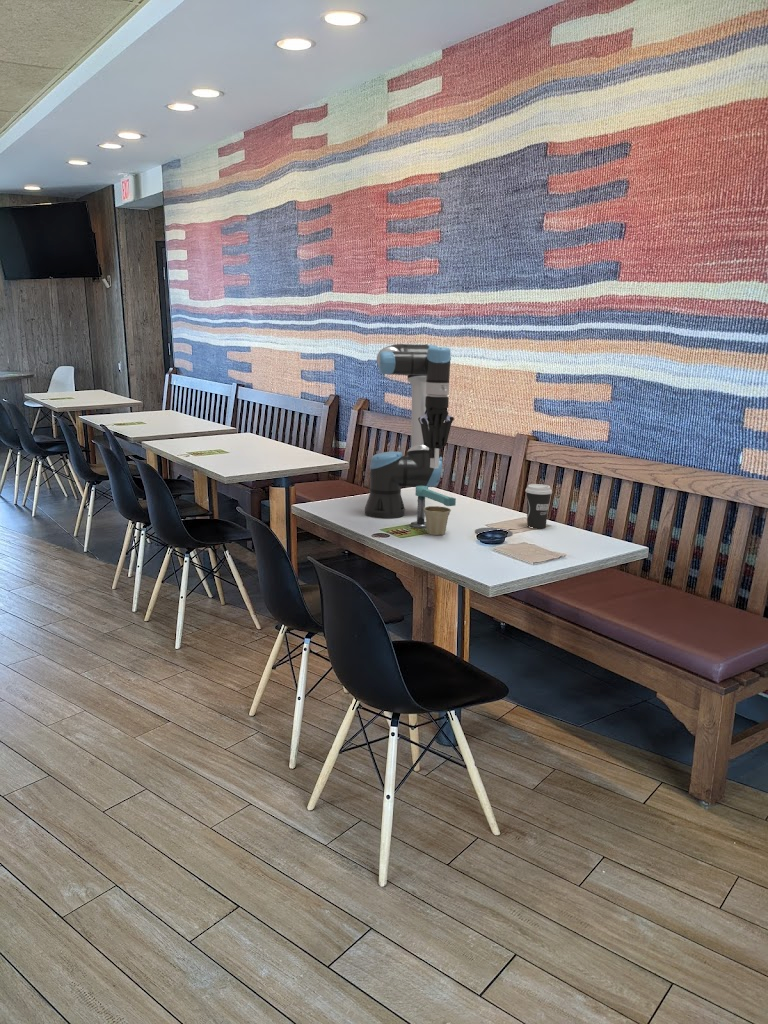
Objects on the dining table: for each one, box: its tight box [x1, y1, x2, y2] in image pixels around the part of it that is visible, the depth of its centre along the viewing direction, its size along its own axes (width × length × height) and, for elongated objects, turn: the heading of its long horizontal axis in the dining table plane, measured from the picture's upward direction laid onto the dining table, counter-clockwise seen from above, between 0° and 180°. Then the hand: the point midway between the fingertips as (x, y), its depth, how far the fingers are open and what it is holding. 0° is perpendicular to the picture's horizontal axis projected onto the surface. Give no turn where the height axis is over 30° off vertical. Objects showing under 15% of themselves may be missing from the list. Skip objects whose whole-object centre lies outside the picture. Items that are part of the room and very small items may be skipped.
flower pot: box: [424, 505, 452, 536], centre depth 285 cm, size 9×9×9 cm
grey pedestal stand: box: [410, 496, 427, 530], centre depth 294 cm, size 7×7×11 cm
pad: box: [474, 527, 513, 538], centre depth 288 cm, size 13×13×1 cm
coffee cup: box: [525, 483, 553, 530], centre depth 297 cm, size 10×10×15 cm
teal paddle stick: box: [414, 486, 457, 507], centre depth 285 cm, size 22×4×3 cm, turn 27°
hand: (434, 467), depth 272 cm, fingers closed
